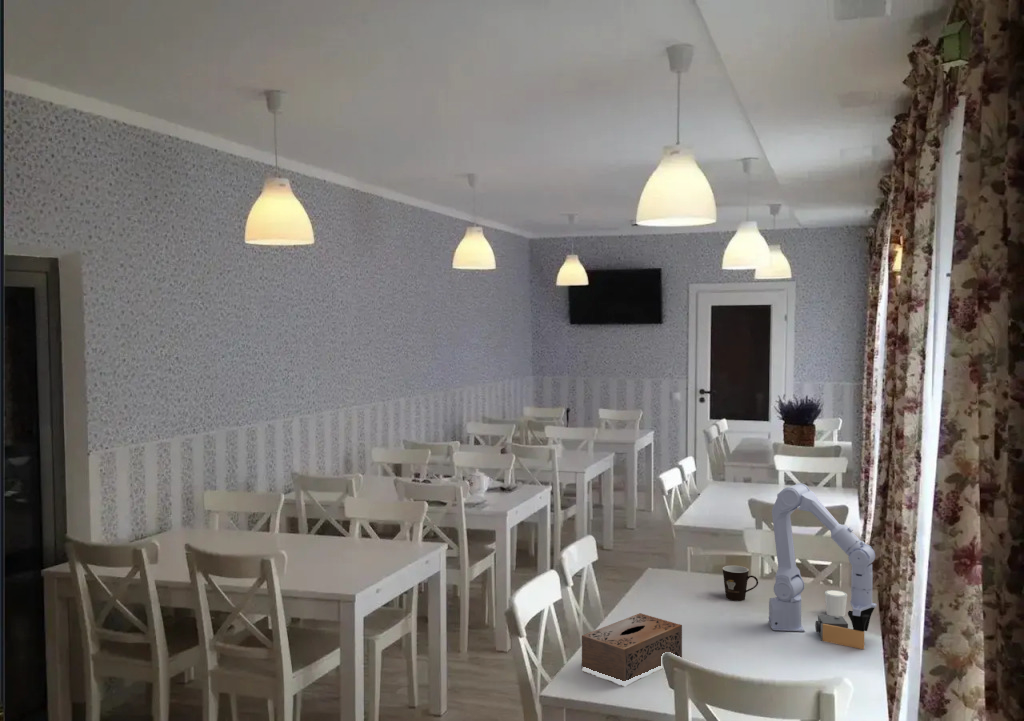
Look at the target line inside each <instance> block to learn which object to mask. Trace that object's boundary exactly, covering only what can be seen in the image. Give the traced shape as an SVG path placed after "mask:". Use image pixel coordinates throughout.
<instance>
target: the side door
mask: <svg viewBox="0 0 1024 721" xmlns="http://www.w3.org/2000/svg"><path fill="white" fill-rule="evenodd" d="M820 641H821V642H825V643H829V644H836V645H840V646H845V647H850V648H855V649H861V650H865V631H859V630H854V629H853V628H849V627H848V628H843V627H838V626H833V625H828V624H823V623H821V636H820Z"/></svg>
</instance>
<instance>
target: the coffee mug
mask: <svg viewBox="0 0 1024 721" xmlns="http://www.w3.org/2000/svg"><path fill="white" fill-rule="evenodd" d="M749 571H750V569H749V568H747V567H745V566H741V565H725V566H723V567H722V575H723V584H724V592H725V599H726V600H728V601H731V602H732V601H733V602H742V601H745V600H746V595H747V593H748V592H749V591H752V590H754V589H755V588H756V587H757V586H758V585H759V579H758V578H757V577H756V575H755V576H754V575H749ZM750 578H753V579H754V580H755V582H756V584H755V585H753V587H751V588H748V589H747V587H748V586H747V585H748V580H749V579H750Z"/></svg>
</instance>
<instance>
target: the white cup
mask: <svg viewBox="0 0 1024 721" xmlns="http://www.w3.org/2000/svg"><path fill="white" fill-rule="evenodd" d="M824 598H825V601H824V602H825V610H826V612H825V613H826V616H842V617H843V618H844V617H845V616H846V611H847V601H848V593H846V592H845V591H842V590H838V589H829V590H828V589H827V590H825V591H824Z"/></svg>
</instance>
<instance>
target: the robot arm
mask: <svg viewBox="0 0 1024 721" xmlns="http://www.w3.org/2000/svg"><path fill="white" fill-rule="evenodd" d="M797 509H798V511H804V512H809V513H811V514H812V515H813V516H814V517H815V518H816V519H817V520H818V521H819V522H821V524H822V525H823V526H825V528H826V529H828V531H830V538H831V539H832V541H833V542H834V543H836V545H837V546H839V548H841V550H842V551H843V553H845V554H846V555H847V556H848V557H847V558H848V561H849V564H850V565H851V572H850V573H851V576H850V577H851V578H850V580H851V581H850V582H851V583H850V585H851V586H850V588H851V589H850V594H851V595H850V603H849V604H850V606H851V607H852V610H848V611H847V615H848V617H849V619H850V621H851V622H850V623H851V625H852V629H854V630H859V631H864V632H867V631H868V629H869V626H870V621H871V617H872V614H873V612H874V610H875V609H876V608H877V603H874V602H873V584H874V583H873V574H874V572H873V563H874V561H875V559H876V552H875V550H874V549H873V547H872V546H871V545H869V544H867V543H866V542H864V540H861V539H860V538H859V537H858V536H857V535H856V534H855V533H854V532H853V531H854V528H852V527H851V526H848V525H847V524H840V523H839V522H838V520H837V519H836V518H835V517H834V516H833V515H832V513H831V512H830V511H829V510H828V509H827V507H825V505H824V504H823V503H822V502H821V501H820V500H819V498H818V496H817V495H816V493H815V492H814V491H813V490H811V489H810V488H809V486H808V485H806V484H805V483H801V482H797V483H795V484H794V485H791V486H788V487H785V488H783V489H782V490H781V491H779V493H777V495H776V500H775V502H774V505H773V506H772V508H771V517H772V524H773V533H774V541H775V542H774V543H775V551H776V559H777V560H776V561H777V567H778V568H777V571H776V573H775V576H774V577H775V583H774V585H773V592H774V595H775V597H770V598H769V601H768V623H769V626H770V628H771V630H772V631H779V632H782V631H783V632H805V628H804V626H803V625H802V595H801V593H802V592H804V589H805V580H804V579H803V577H802V575H801V570H800V568H798V566H797V564H796V554H795V545H794V544H795V543H794V538H793V537H794V536H793V527H792V519H791V518H792V517H791V515H792V514H793V513H794V512H795V511H796V510H797Z"/></svg>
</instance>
